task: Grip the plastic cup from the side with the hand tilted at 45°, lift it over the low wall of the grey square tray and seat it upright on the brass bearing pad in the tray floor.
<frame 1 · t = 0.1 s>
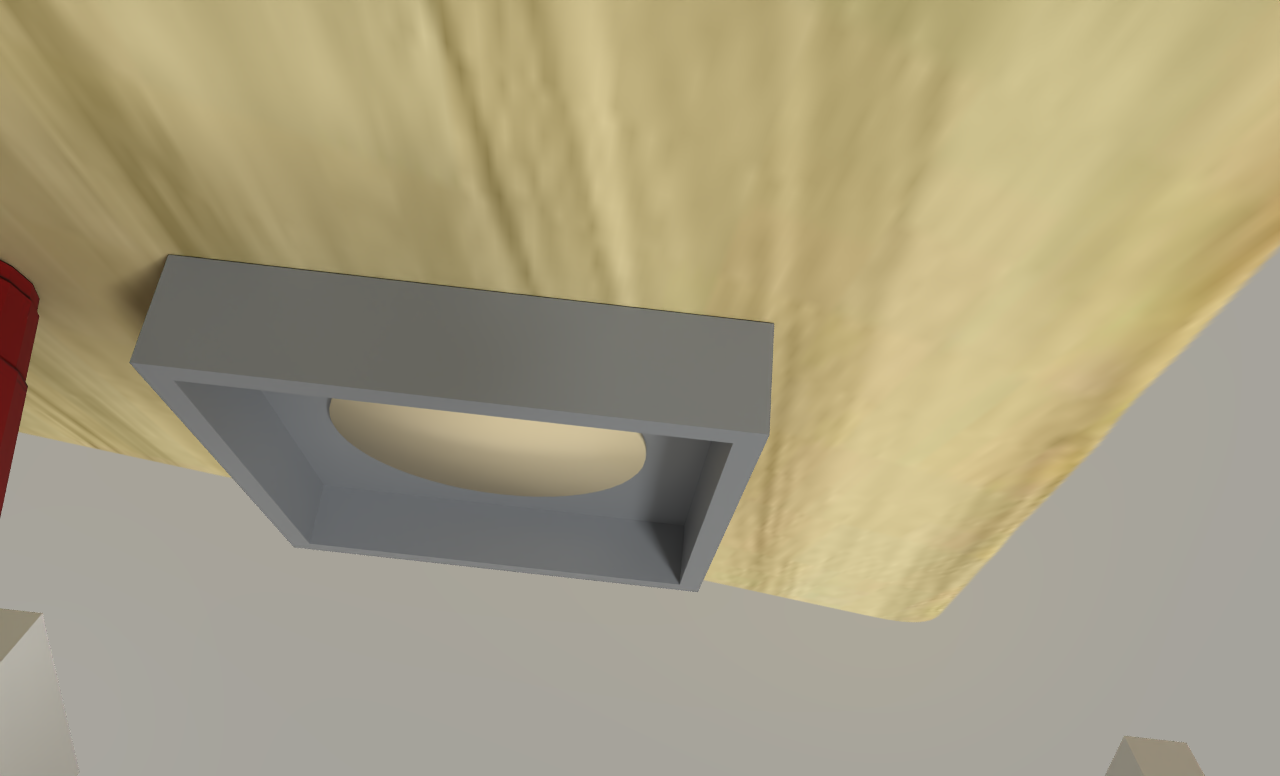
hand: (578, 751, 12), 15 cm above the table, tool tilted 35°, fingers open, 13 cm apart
grey square tray: (494, 413, 42), on the table
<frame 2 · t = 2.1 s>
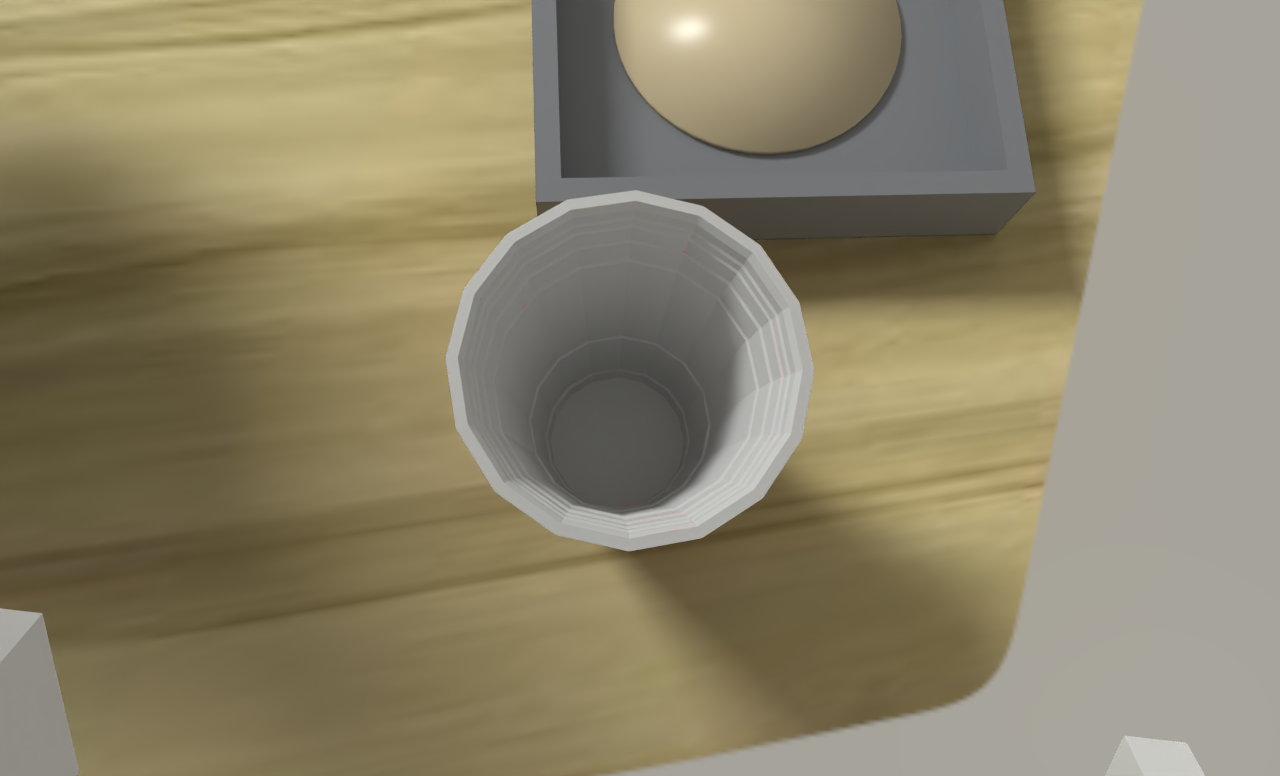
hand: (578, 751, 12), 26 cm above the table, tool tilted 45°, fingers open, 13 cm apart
grey square tray: (753, 38, 46), on the table
plastic cup: (619, 448, 40), on the table
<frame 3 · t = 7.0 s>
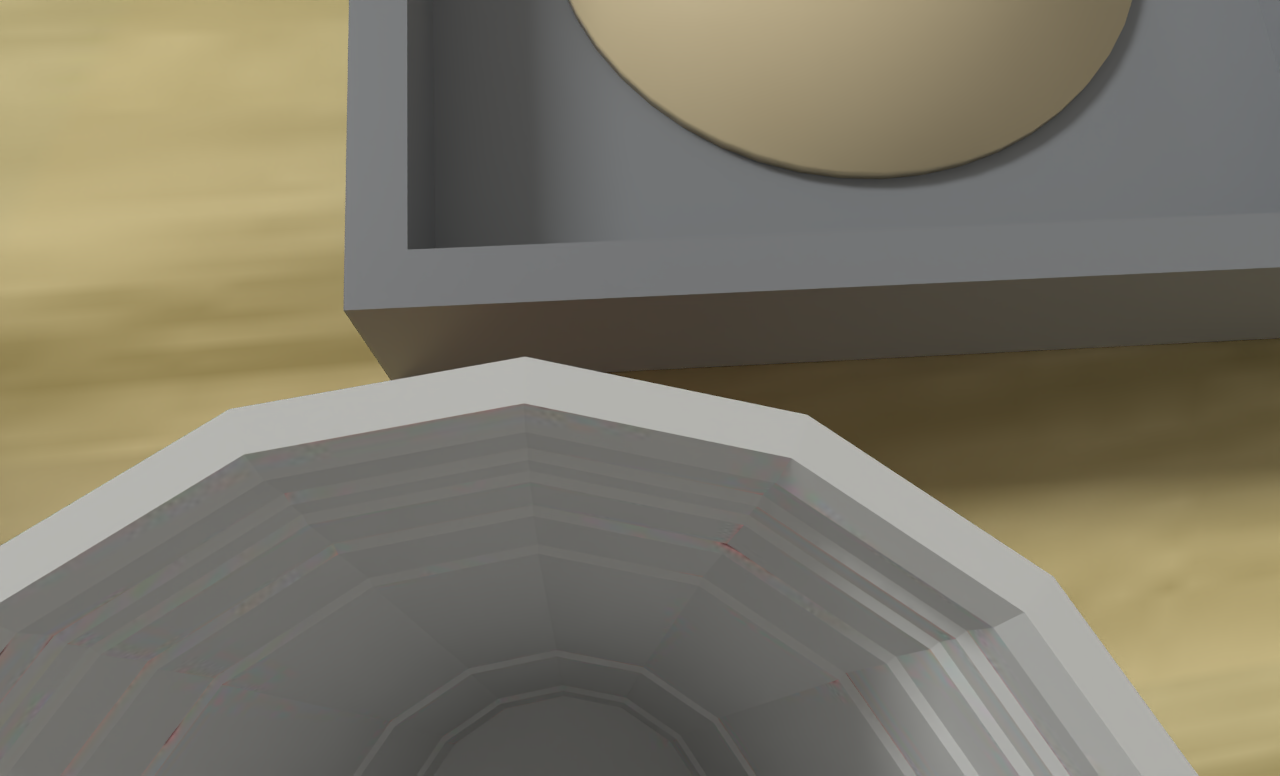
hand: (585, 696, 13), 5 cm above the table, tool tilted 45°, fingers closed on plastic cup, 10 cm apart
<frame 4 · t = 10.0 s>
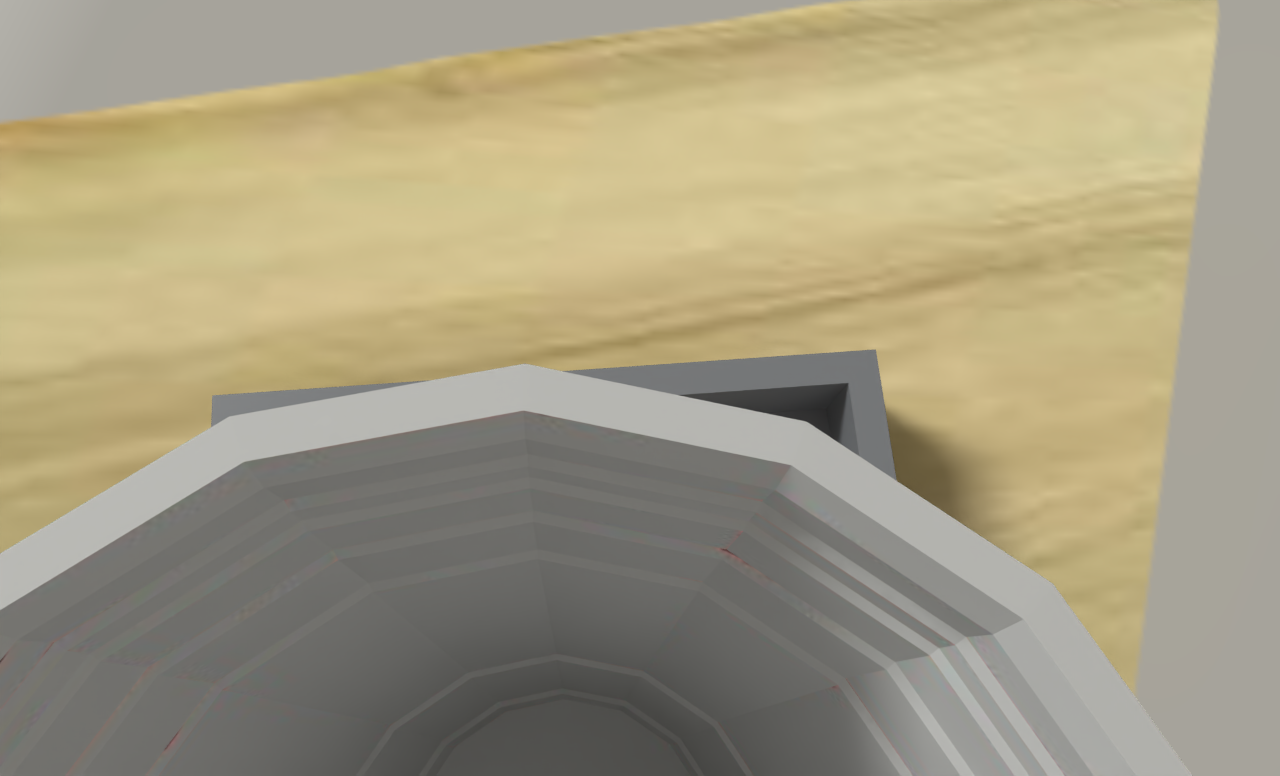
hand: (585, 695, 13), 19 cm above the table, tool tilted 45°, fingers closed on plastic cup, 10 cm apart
grey square tray: (576, 714, 31), on the table
when the fingers open (8 cm above the table, at t = 13.4 s): plastic cup moves 3 cm, resting on grey square tray.
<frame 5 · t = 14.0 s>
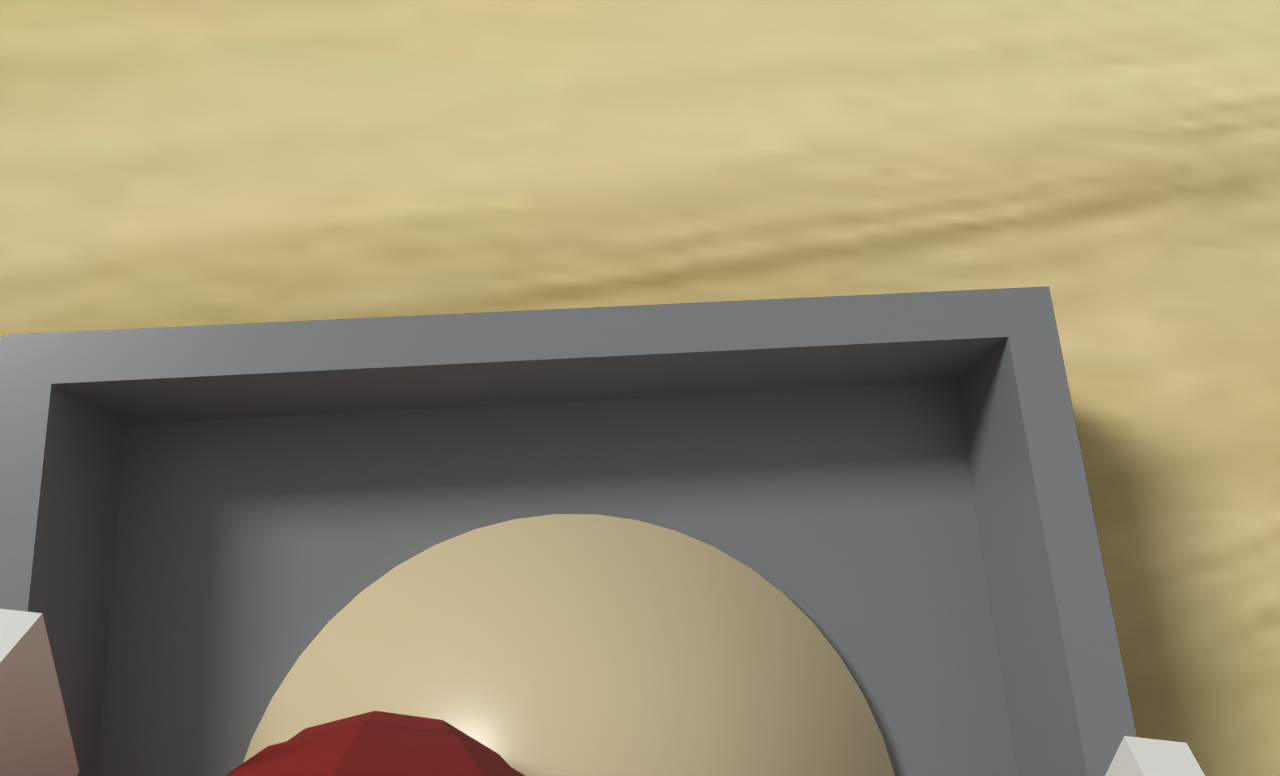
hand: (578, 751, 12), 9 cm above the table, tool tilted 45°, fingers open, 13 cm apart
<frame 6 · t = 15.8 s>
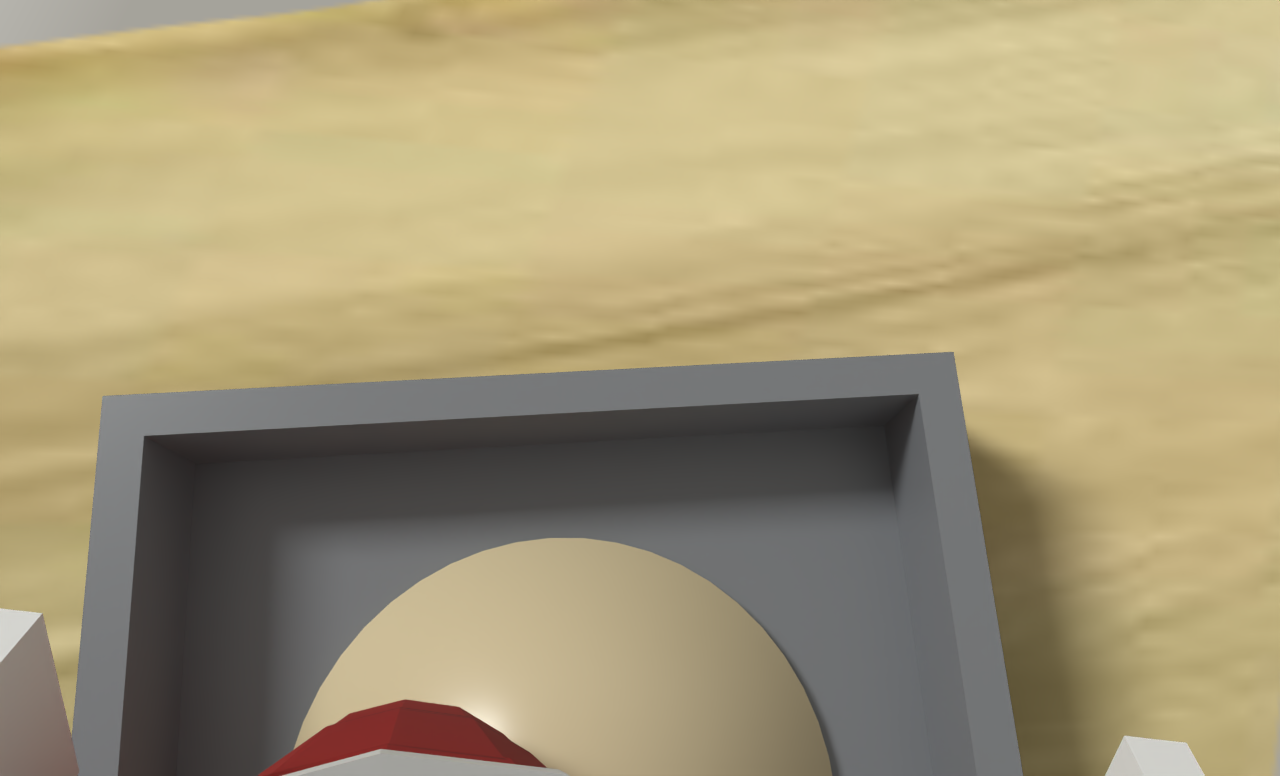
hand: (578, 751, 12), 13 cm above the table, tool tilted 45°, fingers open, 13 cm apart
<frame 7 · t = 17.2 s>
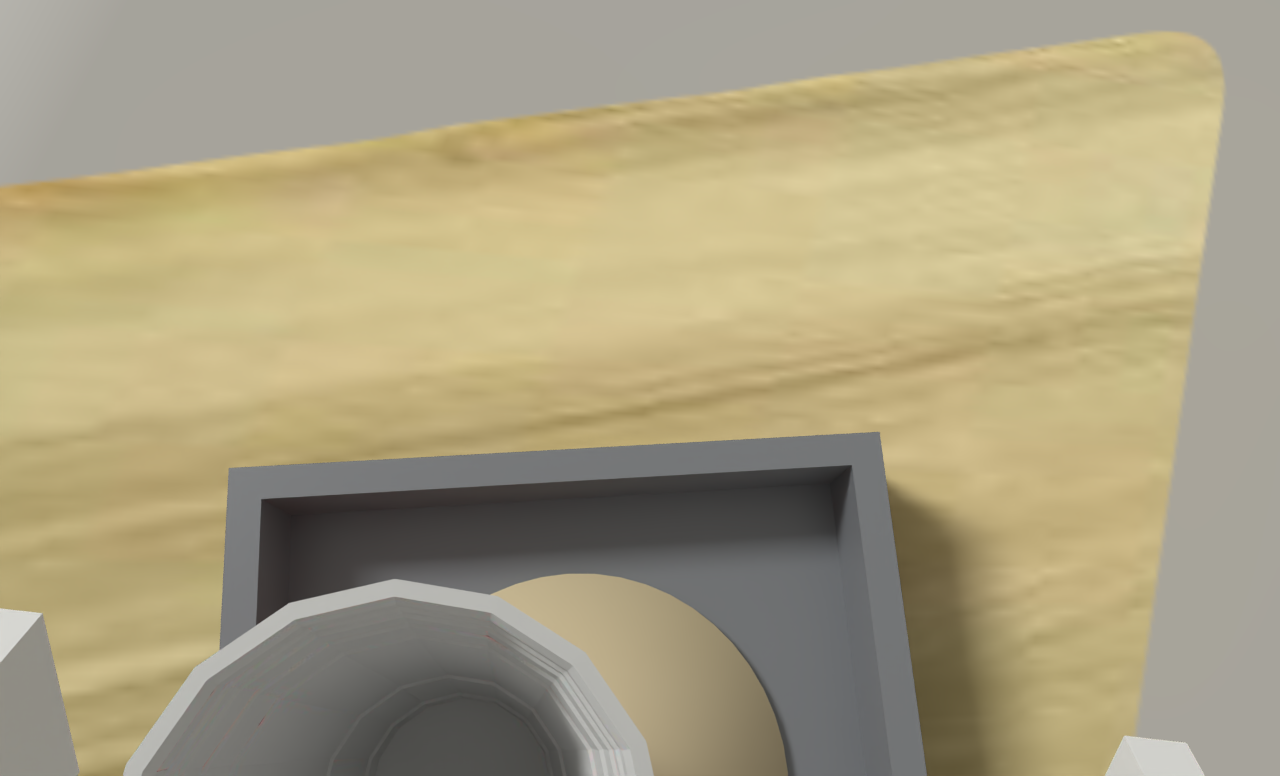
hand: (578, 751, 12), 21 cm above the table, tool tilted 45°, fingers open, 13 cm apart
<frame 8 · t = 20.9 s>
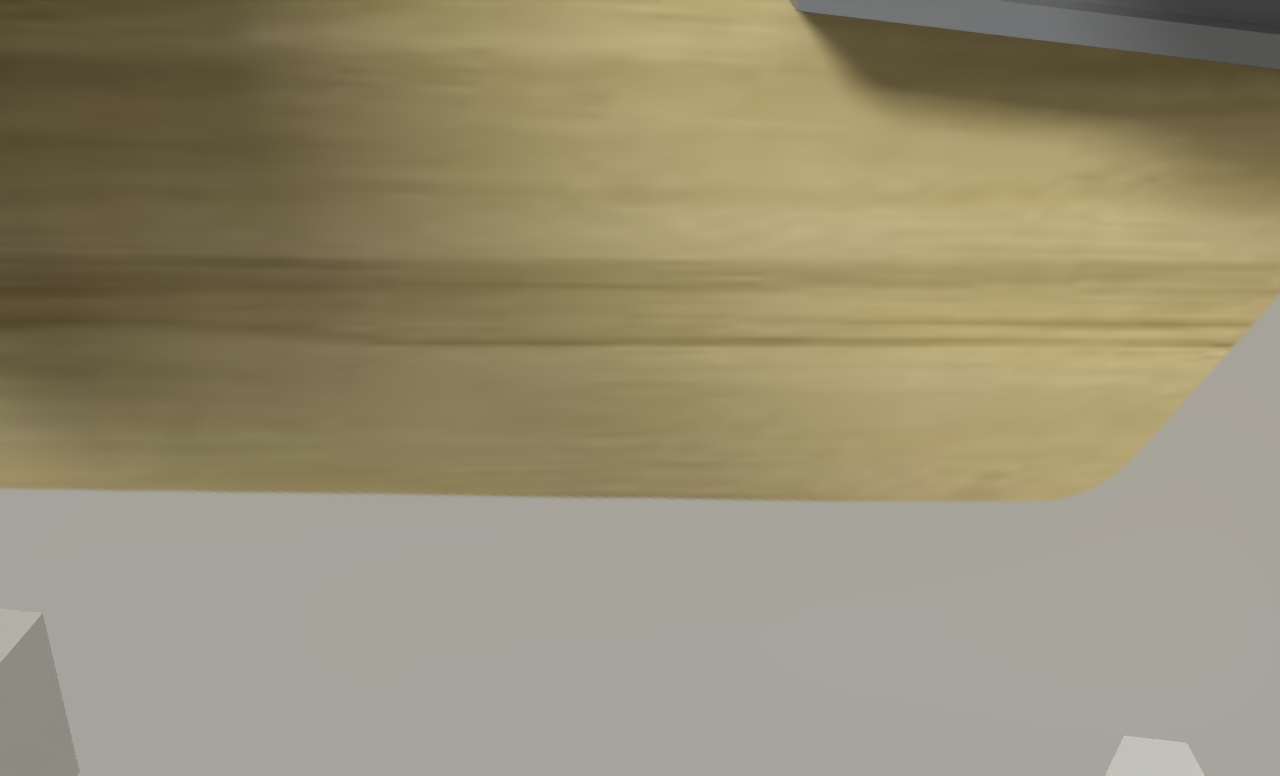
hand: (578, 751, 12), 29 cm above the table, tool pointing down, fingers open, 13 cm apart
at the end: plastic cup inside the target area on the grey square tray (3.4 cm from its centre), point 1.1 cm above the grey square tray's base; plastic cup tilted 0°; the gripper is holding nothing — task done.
